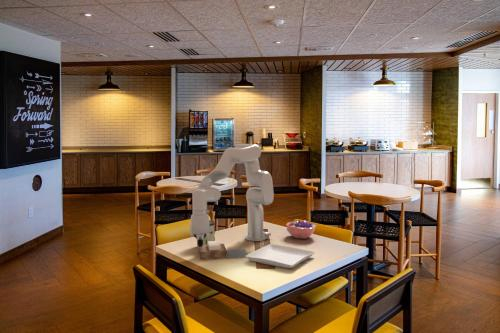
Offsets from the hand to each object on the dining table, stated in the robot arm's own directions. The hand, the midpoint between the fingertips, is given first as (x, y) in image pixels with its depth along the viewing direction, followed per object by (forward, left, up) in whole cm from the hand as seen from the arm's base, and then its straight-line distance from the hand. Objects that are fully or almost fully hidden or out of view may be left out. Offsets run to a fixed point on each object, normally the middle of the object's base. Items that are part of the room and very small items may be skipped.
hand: (200, 246), depth 228 cm
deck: (-6, 0, -5) cm, 8 cm away
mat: (-20, 0, -5) cm, 21 cm away
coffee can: (-4, -17, -5) cm, 18 cm away
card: (-7, 0, -1) cm, 7 cm away
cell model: (-63, -26, -5) cm, 69 cm away
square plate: (-41, +13, -6) cm, 43 cm away
